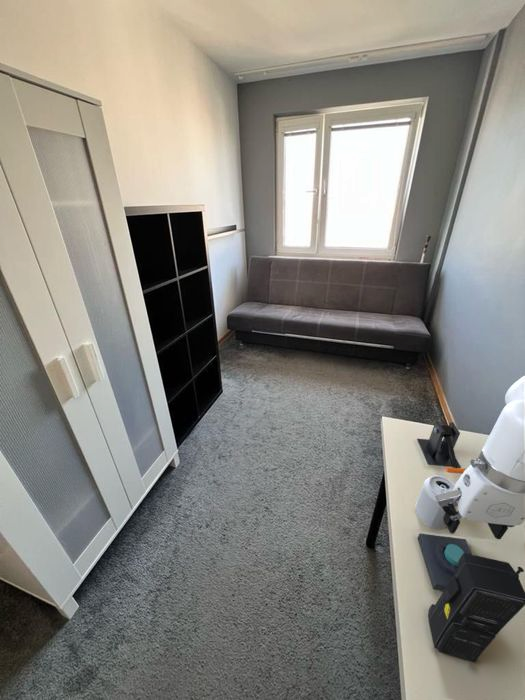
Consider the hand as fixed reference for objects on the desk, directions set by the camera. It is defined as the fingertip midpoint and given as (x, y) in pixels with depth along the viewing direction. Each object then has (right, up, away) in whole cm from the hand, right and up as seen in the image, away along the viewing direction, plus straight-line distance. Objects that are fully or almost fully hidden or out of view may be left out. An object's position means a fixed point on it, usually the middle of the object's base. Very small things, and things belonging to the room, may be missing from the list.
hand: (470, 527), depth 55 cm
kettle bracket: (+14, +2, +33) cm, 36 cm away
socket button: (0, -10, +6) cm, 11 cm away
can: (+2, -8, +17) cm, 19 cm away
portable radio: (-6, -19, -2) cm, 20 cm away
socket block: (+1, -13, +7) cm, 15 cm away
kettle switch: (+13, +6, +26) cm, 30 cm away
